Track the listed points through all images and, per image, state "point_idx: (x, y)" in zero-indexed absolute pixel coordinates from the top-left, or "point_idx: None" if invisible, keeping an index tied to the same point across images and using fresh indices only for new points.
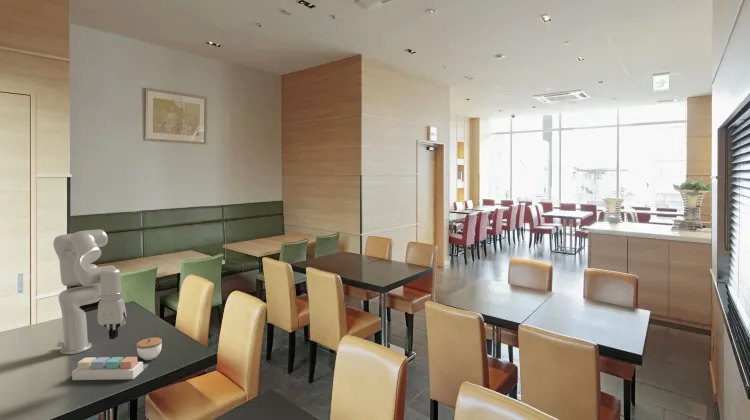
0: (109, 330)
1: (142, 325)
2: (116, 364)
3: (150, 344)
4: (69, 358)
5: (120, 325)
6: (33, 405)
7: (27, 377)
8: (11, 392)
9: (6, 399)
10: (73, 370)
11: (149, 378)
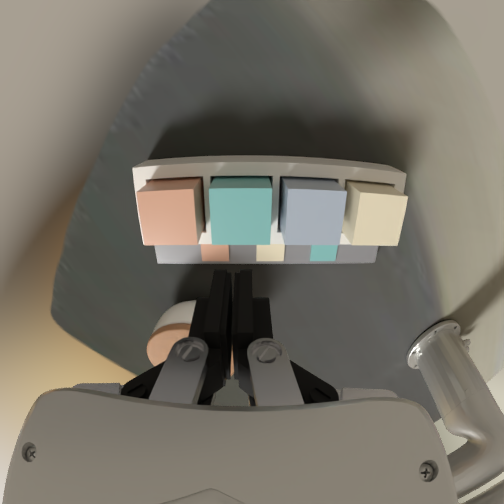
0: (250, 335)
1: None
2: (213, 184)
3: (165, 341)
4: (439, 304)
5: (119, 386)
6: (399, 16)
7: (492, 205)
8: (491, 123)
9: (481, 84)
10: (403, 179)
11: (95, 170)
